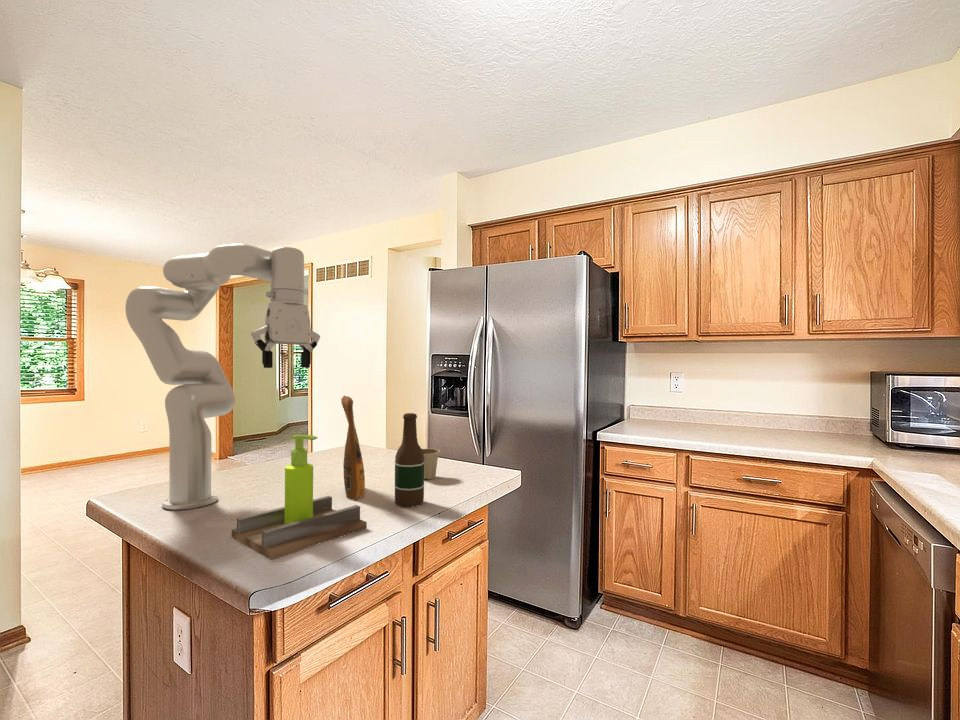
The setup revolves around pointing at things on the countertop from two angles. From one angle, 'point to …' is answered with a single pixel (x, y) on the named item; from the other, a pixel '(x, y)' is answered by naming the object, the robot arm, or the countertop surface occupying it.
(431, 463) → the flower pot
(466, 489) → the countertop surface
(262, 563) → the countertop surface
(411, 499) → the beer bottle
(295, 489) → the soap dispenser
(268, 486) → the countertop surface
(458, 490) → the countertop surface
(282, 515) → the track board
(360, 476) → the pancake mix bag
